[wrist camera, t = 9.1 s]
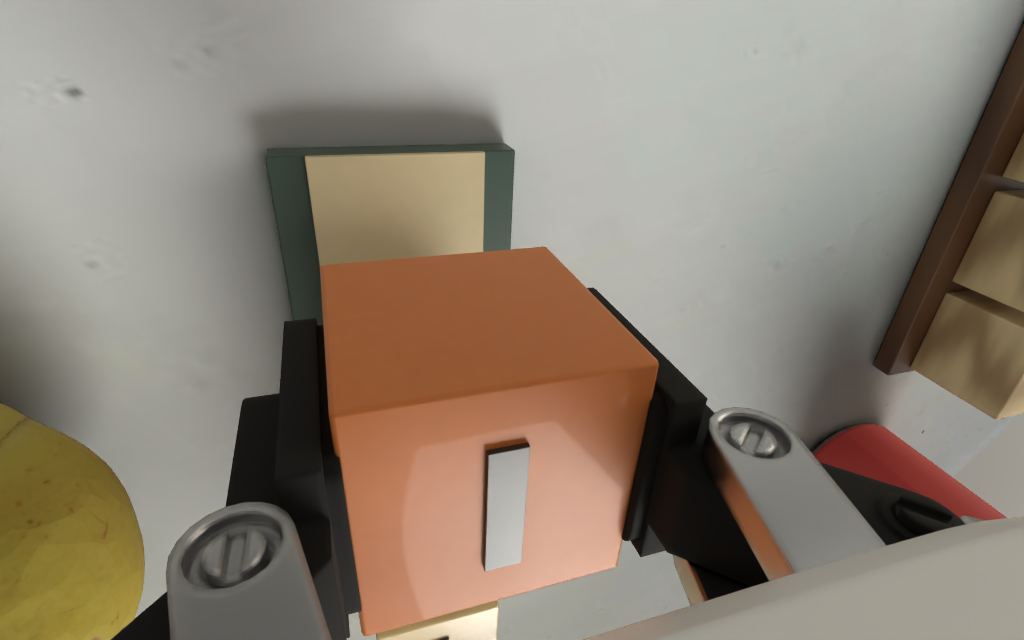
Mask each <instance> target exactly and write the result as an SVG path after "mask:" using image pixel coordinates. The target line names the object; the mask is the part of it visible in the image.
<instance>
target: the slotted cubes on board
mask: <svg viewBox="0 0 1024 640" xmlns="http://www.w3.org/2000/svg"><path fill="white" fill-rule="evenodd" d="M873 366H875V367H876V368H878V369H879V370H881V371H882V372H884V373H885V374H887V375H893V374H898V373H904V372H909V371H914V370H915V371H916V372H918V373H920V374H921V375H923V376H925V377H926V378H928V379H930V380H931V381H933V382H935V383H936V384H938V385H939V386H941V387H943V388H944V389H946V390H948V391H949V392H951V393H953V394H954V395H956V396H958V397H959V398H961V399H962V400H964V401H966V402H967V403H969V404H971V405H972V406H974V407H976V408H977V409H979V410H981V411H982V412H984V413H986V414H987V415H989V416H990V417H992V418H994V419H996V420H998V419H1002V418H1006V417H1010V416H1014V415H1019V414H1023V413H1024V24H1023V26H1022V28H1021V30H1020V33H1019V35H1018V37H1017V39H1016V42H1015V44H1014V46H1013V49H1012V51H1011V53H1010V55H1009V58H1008V60H1007V62H1006V64H1005V67H1004V69H1003V71H1002V74H1001V76H1000V78H999V80H998V83H997V85H996V87H995V89H994V92H993V94H992V96H991V98H990V101H989V103H988V105H987V108H986V110H985V112H984V114H983V117H982V119H981V121H980V123H979V126H978V128H977V130H976V133H975V135H974V137H973V139H972V142H971V144H970V146H969V148H968V151H967V153H966V155H965V157H964V160H963V162H962V164H961V167H960V169H959V171H958V173H957V176H956V178H955V180H954V182H953V185H952V187H951V189H950V192H949V194H948V196H947V198H946V201H945V203H944V205H943V207H942V210H941V212H940V214H939V216H938V219H937V221H936V223H935V226H934V228H933V230H932V232H931V235H930V237H929V239H928V241H927V244H926V246H925V248H924V251H923V253H922V255H921V257H920V260H919V262H918V264H917V266H916V269H915V271H914V273H913V275H912V278H911V280H910V282H909V285H908V287H907V289H906V291H905V294H904V296H903V298H902V300H901V303H900V305H899V307H898V310H897V312H896V314H895V316H894V319H893V321H892V323H891V325H890V328H889V330H888V332H887V334H886V337H885V339H884V341H883V344H882V346H881V348H880V350H879V353H878V355H877V357H876V359H875V362H874V364H873Z"/></svg>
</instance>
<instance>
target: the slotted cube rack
mask: <svg viewBox="0 0 1024 640" xmlns="http://www.w3.org/2000/svg"><path fill="white" fill-rule="evenodd" d="M514 157H515V151H514V149H512V148H511V147H509V146H508V145H507V144H505V143H495V144H450V145H406V146H362V147H318V148H273V149H267V153H266V157H265V160H266V166H267V172H268V178H269V183H270V189H271V195H272V201H273V206H274V212H275V218H276V224H277V229H278V235H279V241H280V247H281V252H282V258H283V264H284V270H285V275H286V281H287V287H288V293H289V298H290V304H291V310H292V316H293V320H301V319H310V318H316V319H317V324H318V325H323V312H322V295H321V278H320V268H321V266H323V265H331V264H343V263H355V262H367V261H379V260H391V259H403V258H415V257H427V256H439V255H451V254H463V253H475V252H487V251H499V250H510V245H511V223H512V201H513V179H514ZM498 611H499V604H498V601H497V600H496V601H492V602H489V603H485V604H481V605H478V606H474V607H471V608H467V609H463V610H460V611H456V612H453V613H449V614H445V615H442V616H438V617H435V618H431V619H427V620H424V621H420V622H417V623H413V624H409V625H406V626H402V627H399V628H395V629H391V630H388V631H384V632H381V633H377V634H376V639H377V640H497V630H498Z"/></svg>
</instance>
